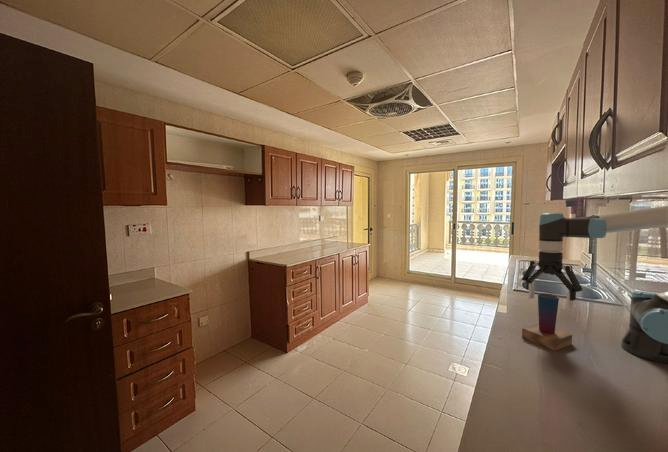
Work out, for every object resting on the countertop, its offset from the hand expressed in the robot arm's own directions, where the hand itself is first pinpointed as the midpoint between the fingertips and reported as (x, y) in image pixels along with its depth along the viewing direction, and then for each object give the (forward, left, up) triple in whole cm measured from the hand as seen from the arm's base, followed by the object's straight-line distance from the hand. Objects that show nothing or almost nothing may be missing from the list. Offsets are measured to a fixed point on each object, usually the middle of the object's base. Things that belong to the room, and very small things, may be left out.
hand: (549, 302), depth 110 cm
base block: (0, 0, -16) cm, 16 cm away
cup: (0, 0, -12) cm, 12 cm away
